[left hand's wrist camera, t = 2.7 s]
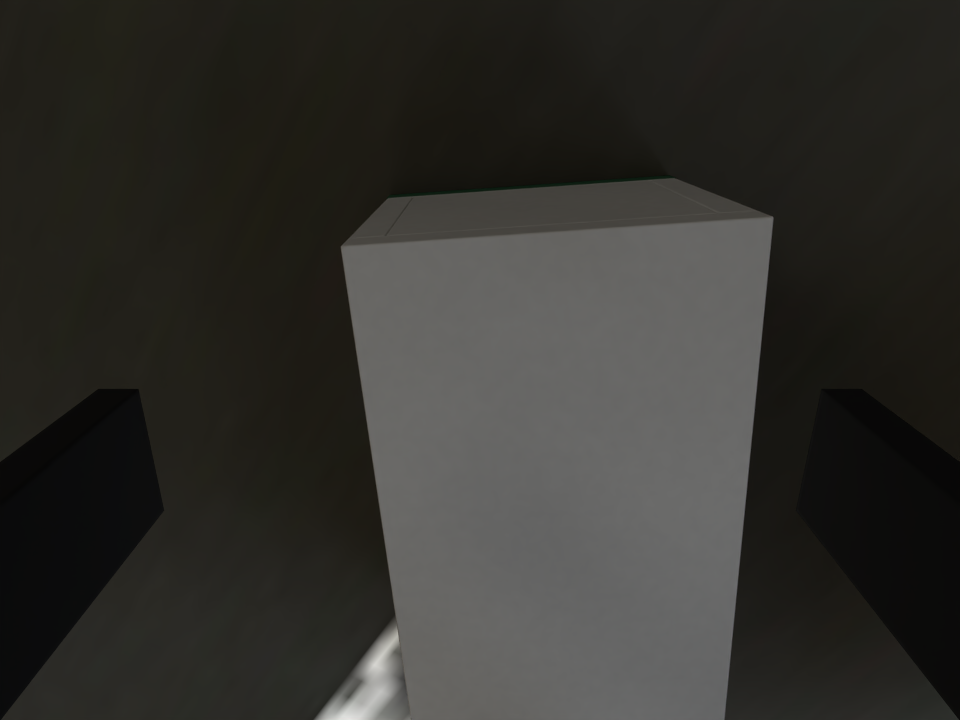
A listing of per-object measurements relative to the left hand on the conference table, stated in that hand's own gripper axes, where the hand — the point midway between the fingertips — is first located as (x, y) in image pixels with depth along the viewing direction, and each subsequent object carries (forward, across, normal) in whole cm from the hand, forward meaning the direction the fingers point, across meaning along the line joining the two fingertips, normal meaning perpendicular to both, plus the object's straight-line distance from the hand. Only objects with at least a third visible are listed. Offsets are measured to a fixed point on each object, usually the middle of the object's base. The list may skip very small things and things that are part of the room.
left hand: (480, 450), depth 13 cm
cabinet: (+16, +3, -6) cm, 17 cm away
